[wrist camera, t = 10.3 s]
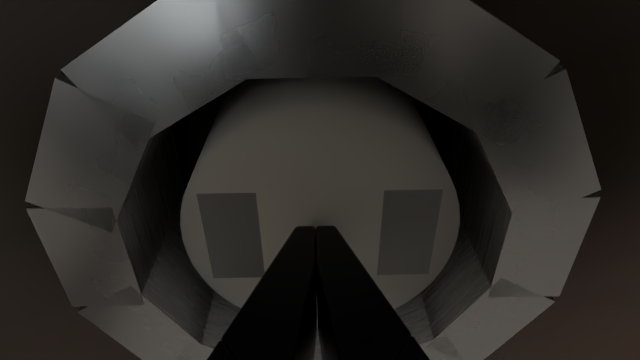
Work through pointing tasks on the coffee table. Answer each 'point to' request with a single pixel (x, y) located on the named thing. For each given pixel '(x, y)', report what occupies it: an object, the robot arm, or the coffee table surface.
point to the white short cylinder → (319, 183)
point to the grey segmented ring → (310, 62)
